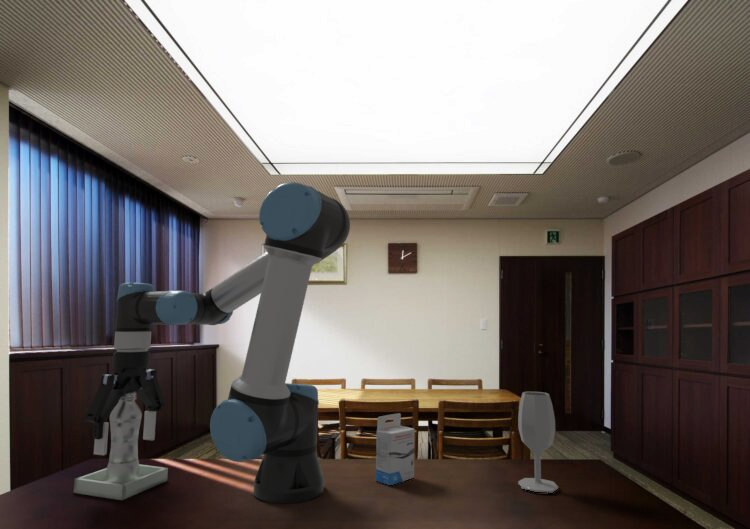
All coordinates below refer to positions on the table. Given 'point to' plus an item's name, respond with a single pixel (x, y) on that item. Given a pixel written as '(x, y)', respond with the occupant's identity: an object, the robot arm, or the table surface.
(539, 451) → the wineglass
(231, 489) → the table surface
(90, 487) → the tray
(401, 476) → the ink box
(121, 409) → the plastic bottle
